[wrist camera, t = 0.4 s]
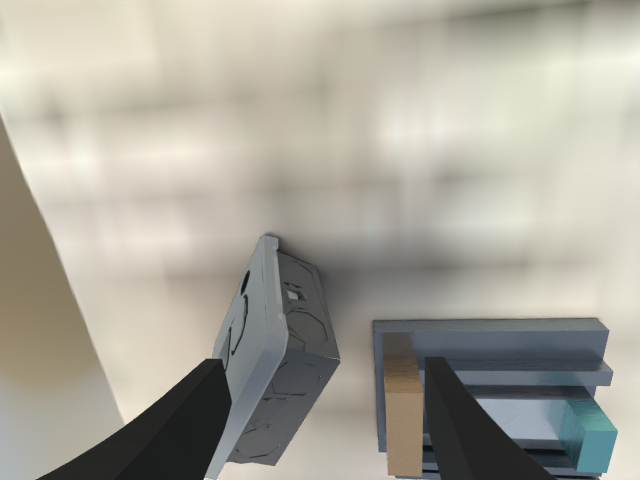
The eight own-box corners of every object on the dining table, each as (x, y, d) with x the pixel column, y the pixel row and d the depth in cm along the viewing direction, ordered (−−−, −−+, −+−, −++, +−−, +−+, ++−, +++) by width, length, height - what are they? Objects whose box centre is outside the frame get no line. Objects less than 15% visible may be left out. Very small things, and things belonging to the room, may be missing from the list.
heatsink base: (570, 443, 25) (607, 506, 21) (378, 437, 27) (380, 495, 23) (596, 318, 22) (647, 367, 18) (373, 321, 23) (375, 366, 20)
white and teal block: (572, 419, 23) (606, 473, 20) (439, 416, 24) (451, 467, 21) (580, 381, 22) (617, 431, 19) (440, 380, 23) (453, 427, 20)
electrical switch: (264, 226, 22) (224, 322, 14) (343, 260, 23) (351, 370, 14) (215, 340, 26) (159, 472, 17) (284, 365, 26) (263, 504, 18)
